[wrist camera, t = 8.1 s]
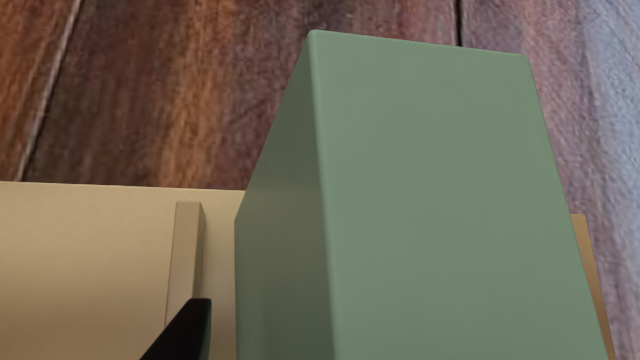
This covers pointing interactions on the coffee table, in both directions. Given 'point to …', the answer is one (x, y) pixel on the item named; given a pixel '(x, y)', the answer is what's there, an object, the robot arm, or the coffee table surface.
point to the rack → (131, 268)
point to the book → (409, 214)
